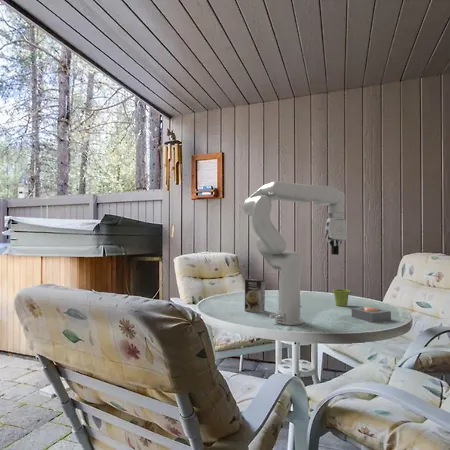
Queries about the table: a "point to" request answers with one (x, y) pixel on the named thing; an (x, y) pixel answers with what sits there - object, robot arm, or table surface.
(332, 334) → the table surface
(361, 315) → the button box
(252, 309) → the coffee box
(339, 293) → the plant pot
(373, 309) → the push button
